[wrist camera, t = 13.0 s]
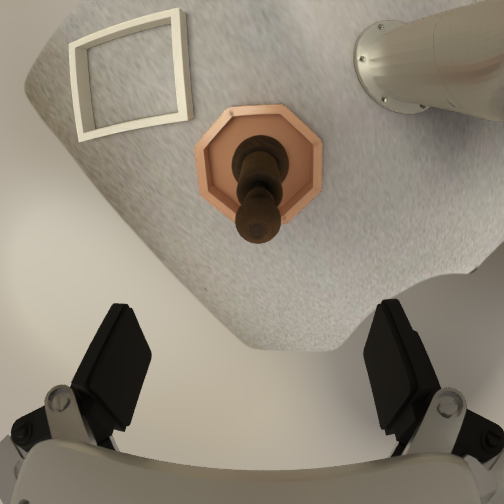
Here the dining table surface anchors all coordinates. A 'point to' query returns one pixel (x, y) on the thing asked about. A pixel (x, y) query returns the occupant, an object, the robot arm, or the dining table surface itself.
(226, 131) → the terracotta bowl
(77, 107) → the open rectangular frame
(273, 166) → the dark brown knobbed post
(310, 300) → the dining table surface
